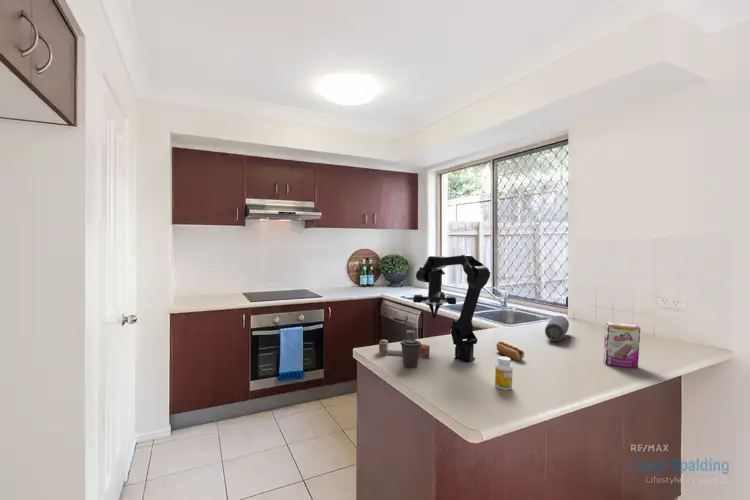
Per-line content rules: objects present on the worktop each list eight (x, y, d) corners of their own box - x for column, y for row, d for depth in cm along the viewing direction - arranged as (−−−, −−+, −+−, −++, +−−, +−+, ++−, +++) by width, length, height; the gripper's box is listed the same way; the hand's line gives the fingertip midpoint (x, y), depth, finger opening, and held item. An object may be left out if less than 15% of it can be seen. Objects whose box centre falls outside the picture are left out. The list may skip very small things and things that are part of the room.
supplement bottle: (492, 383, 126) (493, 355, 125) (507, 383, 126) (508, 355, 126) (498, 390, 120) (499, 361, 120) (514, 390, 121) (515, 360, 120)
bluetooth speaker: (564, 345, 173) (565, 324, 173) (543, 341, 178) (544, 321, 178) (569, 334, 192) (570, 315, 192) (550, 332, 197) (550, 313, 197)
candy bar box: (605, 365, 146) (607, 324, 146) (602, 361, 151) (604, 321, 150) (638, 369, 143) (641, 327, 142) (634, 365, 147) (636, 324, 147)
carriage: (416, 353, 156) (416, 329, 156) (415, 357, 150) (416, 333, 150) (404, 352, 157) (405, 329, 157) (403, 356, 151) (404, 332, 151)
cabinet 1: (387, 351, 158) (387, 339, 157) (386, 355, 153) (386, 342, 152) (380, 351, 158) (380, 338, 158) (378, 355, 153) (379, 341, 153)
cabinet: (429, 354, 155) (429, 345, 155) (429, 358, 150) (429, 349, 150) (418, 354, 156) (418, 344, 155) (418, 357, 151) (418, 348, 150)
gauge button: (427, 353, 154) (427, 344, 154) (427, 356, 151) (427, 346, 151) (420, 353, 154) (420, 344, 154) (420, 355, 151) (420, 346, 151)
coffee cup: (419, 371, 136) (420, 344, 135) (398, 369, 137) (398, 342, 137) (421, 363, 144) (422, 338, 143) (401, 361, 145) (401, 336, 145)
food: (493, 352, 161) (493, 340, 161) (503, 350, 163) (504, 339, 163) (515, 362, 148) (516, 350, 148) (526, 361, 150) (527, 349, 150)
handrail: (418, 355, 154) (418, 351, 154) (418, 356, 152) (418, 352, 152) (387, 353, 156) (387, 349, 156) (386, 354, 154) (386, 350, 154)
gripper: (413, 285, 158) (412, 321, 159) (457, 287, 156) (456, 323, 156) (414, 282, 169) (413, 315, 170) (455, 283, 167) (454, 318, 167)
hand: (434, 318), depth 166 cm, fingers closed
